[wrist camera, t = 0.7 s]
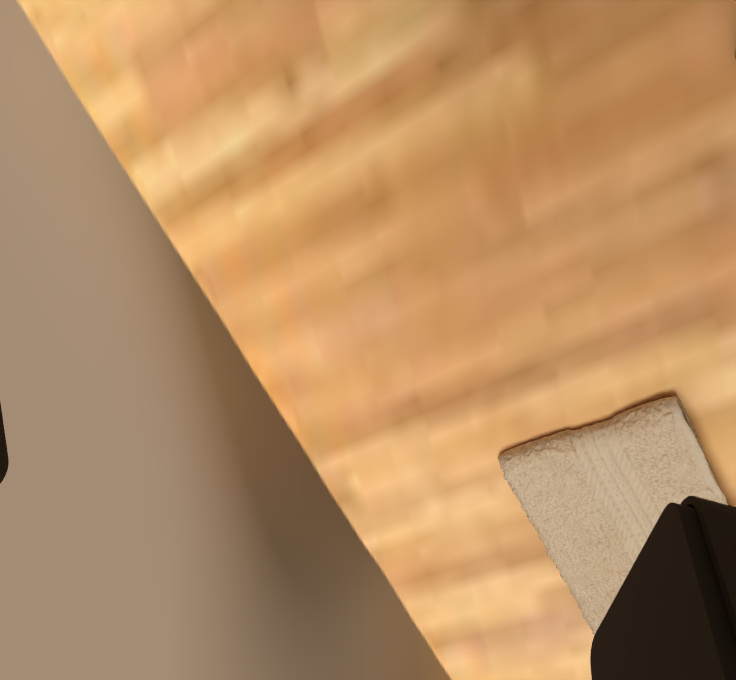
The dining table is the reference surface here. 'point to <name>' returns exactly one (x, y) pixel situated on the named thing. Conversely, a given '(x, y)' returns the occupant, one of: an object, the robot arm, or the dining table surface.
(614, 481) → the washcloth
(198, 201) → the dining table surface
